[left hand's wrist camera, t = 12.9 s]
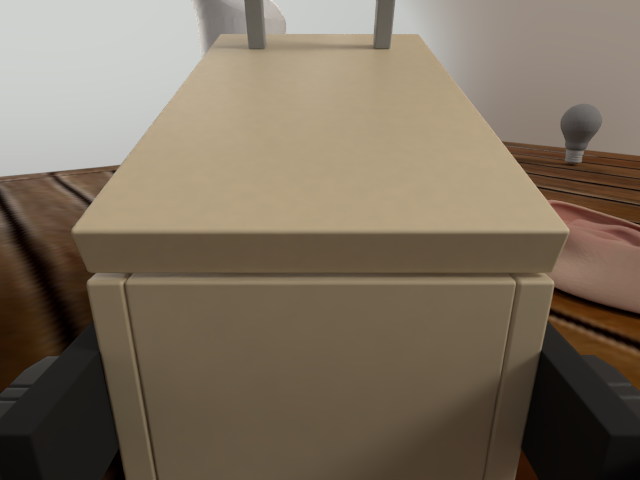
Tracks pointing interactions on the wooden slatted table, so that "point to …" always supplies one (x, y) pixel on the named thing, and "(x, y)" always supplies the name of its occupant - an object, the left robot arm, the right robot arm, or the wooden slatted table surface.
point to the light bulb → (579, 130)
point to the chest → (320, 373)
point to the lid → (320, 168)
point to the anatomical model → (599, 258)
